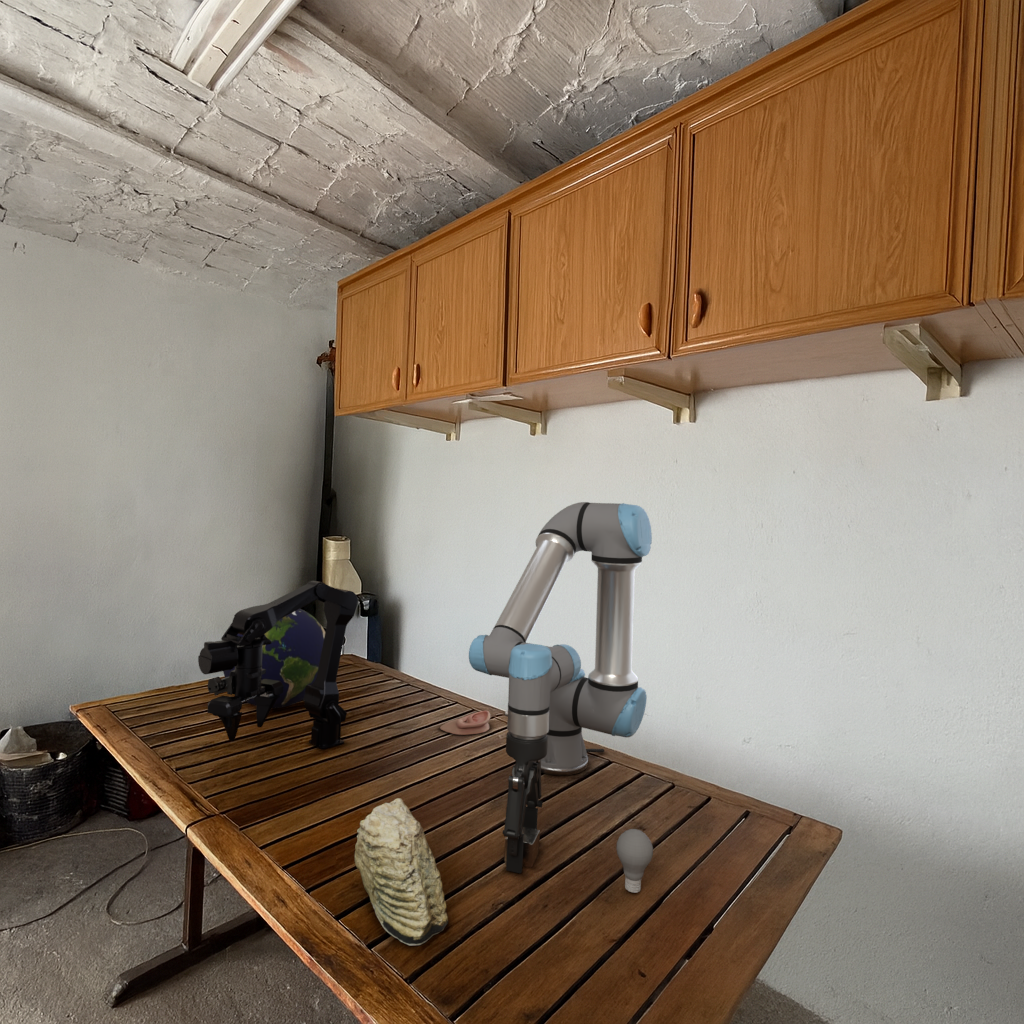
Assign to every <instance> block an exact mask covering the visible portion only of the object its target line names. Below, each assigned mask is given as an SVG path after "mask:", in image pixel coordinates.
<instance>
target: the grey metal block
mask: <svg viewBox="0 0 1024 1024" xmlns="http://www.w3.org/2000/svg"><path fill="white" fill-rule="evenodd" d="M522 834H524V842H523V864H522V867H527V868H533V866H534V863H535V862H536V860H537V858H538V855H539V853H540V837H541V836H540V835H541V830H540V829H538V828H537V829H532V828H527V827H523V830H522ZM506 860H507V837H505V839H504V858H503V862H505V863H506Z"/></svg>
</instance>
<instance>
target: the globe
mask: <svg viewBox="0 0 1024 1024" xmlns="http://www.w3.org/2000/svg"><path fill="white" fill-rule="evenodd" d="M325 631H326V630H325V629H324V627H323V626H322V624H321V623H320V621H318V619H317V618H315V616H314V615H312V614H311V613H310V612H308V611H305V610H304V609H302V608H300V609H298V610H296V611H294V612H293V613H291V614H289V615H287V616H285V617H283V618H281V619H280V620H279V621H277V622H276V624H275V625H274V626H273V628H272V629H270V630H269V631H268V632H267V633H265V636H266V637H267V638H268V639H269V640H271V641H272V643H271V644H268V645H263V650H262V669H266V674H263V675H262V678H261V680H263V679H270V680H277V681H281V683H282V684H283V693H282V694H279V695H280V697H279V698H278V699H277V700H276V702H275V704H274V705H273V707H272V709H282V708H285V707H289V706H293V705H295V704H298V703H299V702H301V701H303V698H304V696H305V688H306V686H307V685H310V686H311V685H312V684H313V682H314V681H315V680H316V677H317V673H318V667H319V662H320V657H321V652H322V647H323V642H324V637H325ZM237 636H240V637H242V636H243V635H241V634H237ZM233 670H235V667H234V668H233V669H231V670H226V671H222V673H223V676H224V678H226V677H229V674H230V672H231V671H233ZM245 703H247V704H248V705H251V706H254V707H256V702H255V701H254V699H250V700H248V701H246V702H245ZM272 709H271V710H272Z"/></svg>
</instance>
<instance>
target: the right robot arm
mask: <svg viewBox="0 0 1024 1024" xmlns="http://www.w3.org/2000/svg"><path fill="white" fill-rule="evenodd" d="M652 534H653V533H652V526H651V521H650V518H649V515H648V513H647V512H646V510H645V508H644V507H642V506H640V505H637V504H631V503H630V504H629V503H624V502H623V503H622V502H621V503H615V502H614V503H612V502H608V503H607V502H588V501H582V502H581V501H580V502H575V503H573V504H572V503H571V504H570V505H568V506H566V507H564V508H563V509H561V510H559V511H558V512H557V513H556V514H554V515H553V516H552V517H551V518H550V519H549V520H548V521H547V522H546V523H545V524H544V526H543V527H542V528H541V530H540V532H539V533H538V535H537V536H536V539H535V547H536V548H535V550H534V551H533V553H532V555H531V557H530V559H529V560H528V563H527V565H526V566H525V568H524V569H523V572H522V574H521V576H520V578H519V580H518V581H517V583H516V586H515V587H514V590H513V591H512V593H511V594H510V596H509V598H508V600H507V602H506V604H505V606H504V608H503V609H502V612H501V613H500V615H499V617H498V619H497V621H496V623H495V625H494V627H493V628H492V630H491V632H490V633H489V634H479V635H477V636H476V637H474V639H473V640H472V642H470V643H471V644H470V646H469V650H468V661H469V664H470V666H471V668H472V669H473V670H475V671H476V672H480V673H482V674H486V675H489V676H496V677H502V678H507V679H508V697H507V698H508V701H507V710H505V711H504V715H505V717H507V722H506V729H507V732H506V735H505V740H506V741H505V753H506V754H507V756H509V757H510V758H512V759H513V760H514V761H515V763H514V765H513V766H512V770H511V775H509V776H508V784H507V785H508V789H507V801H506V808H505V809H506V810H505V818H504V828H503V829H502V835H503V836H504V837H505V838H506V837H507V860H506V862H505V871H507V872H511V873H516V874H522V872H523V866H522V864H523V842H524V834H522V830H523V827H527V828H532V829H537V830H538V813H539V808H543V803H544V802H543V800H541V798H542V773H543V774H546V775H551V776H573V775H577V774H580V773H582V772H584V771H585V770H586V769H587V768H588V765H589V756H588V753H599V754H600V753H605V749H604V748H587V747H586V744H585V741H584V737H583V729H586V730H591V731H594V732H598V733H603V734H606V735H610V736H612V737H615V736H616V737H622V738H630V737H633V736H634V735H635V734H636V733H637V731H638V730H639V728H640V726H641V724H642V721H643V718H644V715H645V711H646V706H647V697H648V696H647V692H646V690H645V689H644V688H643V687H641V686H640V687H639V677H638V676H637V674H636V673H635V672H634V671H633V647H634V645H633V644H634V617H635V616H634V614H635V613H634V611H635V585H636V584H635V583H636V582H635V579H636V570H637V568H638V567H640V566H641V564H643V557H647V556H648V555H649V553H651V552H650V551H651V548H652V547H651V545H652V543H653V542H652V539H653V536H652ZM578 552H591V563H593V565H594V566H595V567H596V569H597V578H596V579H597V580H596V583H597V584H596V592H597V593H596V612H595V613H596V615H595V653H594V654H595V655H594V656H595V658H594V668H593V669H592V670H591V671H590V672H589V673H588V674H587V675H588V676H587V677H586V673H585V670H584V669H583V668H582V660H581V657H580V655H579V653H578V651H577V650H576V649H575V648H574V647H573V646H571V645H569V644H565V643H564V644H563V643H562V644H554V645H552V646H548V645H542V644H537V643H532V642H531V643H530V642H528V640H529V638H530V636H531V634H532V632H533V630H534V628H535V626H536V624H537V622H538V620H539V618H540V615H541V613H542V611H543V609H544V607H545V605H546V603H547V601H548V599H549V597H550V595H551V593H552V591H553V589H554V587H555V585H556V584H557V583H556V582H557V581H558V579H559V577H560V575H561V573H562V571H563V568H564V567H565V564H566V563H569V562H570V561H571V560H572V559H574V556H575V554H576V553H578Z"/></svg>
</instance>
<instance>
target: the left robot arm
mask: <svg viewBox="0 0 1024 1024" xmlns="http://www.w3.org/2000/svg"><path fill="white" fill-rule="evenodd" d="M315 601H319V602H320V603H321V602H322V603H323V613H324V616H325V620H326V627H325V630H324V631H325V637H324V642H323V647H322V652H321V657H320V662H319V667H318V673H317V677H316V680H315V681H314V682H313V684H312V685H311V686H310V685H307V686H306V688H305V696H304V698H303V700H302V702H304V703H303V707H304V709H305V711H307V713H308V715H309V718H311V719H313V721H312V722H313V723H312V727H311V730H310V731H311V732H310V733H311V735H310V739H309V740H308V743H309V744H310V745H313V746H314V747H316V748H318V749H320V750H327V749H329V748H333V747H336V746H340V745H343V744H344V743H345V741H344V740H343V739H341V737H342V735H341V733H342V723H343V722H346V719H347V715H348V712H347V711H346V710H345V709H344V708H343V707H342V706H341V705H340V691H339V688H338V684H337V678H338V672H339V668H340V667H339V666H340V662H341V656H342V651H343V647H344V641H345V636H346V630H347V626H348V624H349V623H350V622H351V620H352V619H353V618H354V616H355V615H356V612H357V608H358V605H359V597H358V596H357V594H356V593H355V592H354V591H352V590H347V589H342V588H337V587H333V586H331V585H328V584H326V583H325V582H323V581H318V580H310V581H308V582H307V583H306V584H304V585H302V586H300V587H298V588H296V589H294V590H292V591H289V592H288V593H286V594H284V595H281V596H280V597H278V598H276V599H274V600H272V601H270V602H268V603H264V604H260V605H254V606H250V607H247V608H244V609H241V610H238V611H237V612H236V613H235V614H234V615H233V618H232V622H231V623H230V625H229V626H228V628H227V629H226V630H225V632H224V633H223V635H222V636H221V638H220V640H216V641H211V640H209V641H204V643H203V647H202V648H201V649H200V652H199V655H198V657H197V662H198V667H199V671H200V672H201V673H202V674H203V675H210V674H216V673H220V672H223V671H226V670H231V669H233V668H234V667H235V670H233V671H231V672H230V674H229V677H226V678H225V677H222V678H221V677H220V676H216V677H212V678H209V679H208V681H207V691H208V693H210V694H213V695H214V696H215V698H212V699H210V700H209V702H208V703H207V714H211V715H213V716H215V717H218V718H219V719H220V720H221V723H222V725H223V727H224V730H225V733H226V735H227V738H228V740H229V741H230V742H234V741H235V740H236V737H237V734H238V731H239V727H240V723H241V720H242V715H243V712H242V711H241V710H242V708H243V703H247V702H246V701H248V700H250V699H254V701H255V702H256V706H255V709H256V710H255V711H256V715H255V716H256V718H255V719H256V727H257V728H262V727H263V726H264V725H265V723H266V720H267V718H268V716H269V714H270V712H271V710H272V707H273V705H274V704H275V702H276V700H277V699H278V698H279V697H280V695H279V694H282V693H283V684H282V683H281V681H277V680H270V679H263V680H261V678H262V675H263V674H266V669H262V650H263V645H268V644H271V643H272V641H271V640H269V639H268V638H267V637H266V636H265V633H267V632H268V631H269V630H270V629H272V628H273V626H274V625H275V624H276V622H277V621H279V620H280V619H281V618H283V617H285V616H287V615H289V614H291V613H293V612H294V611H296V610H298V609H302V608H304V607H306V606H308V605H310V604H312V603H314V602H315ZM237 634H241V635H243V636H242V637H240V636H237ZM223 693H226V694H227V695H220V694H223ZM229 695H230V696H229ZM232 695H234V696H232ZM216 696H217V697H216Z"/></svg>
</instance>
